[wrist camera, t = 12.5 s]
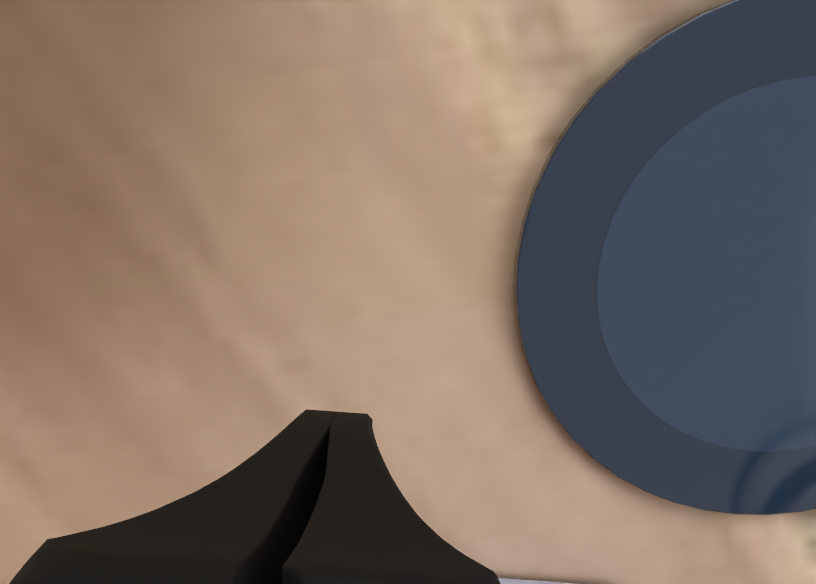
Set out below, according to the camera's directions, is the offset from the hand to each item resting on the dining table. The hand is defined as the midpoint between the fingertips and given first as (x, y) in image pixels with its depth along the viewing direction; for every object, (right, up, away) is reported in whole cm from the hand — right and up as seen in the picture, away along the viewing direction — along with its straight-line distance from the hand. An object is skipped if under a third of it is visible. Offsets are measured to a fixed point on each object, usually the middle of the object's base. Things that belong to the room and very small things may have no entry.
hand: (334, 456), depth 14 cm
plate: (+13, +4, +8) cm, 16 cm away
